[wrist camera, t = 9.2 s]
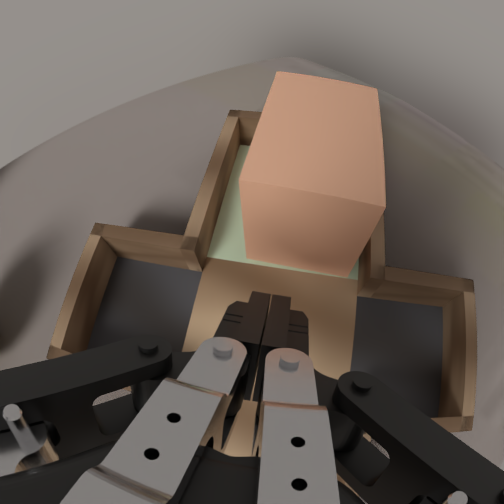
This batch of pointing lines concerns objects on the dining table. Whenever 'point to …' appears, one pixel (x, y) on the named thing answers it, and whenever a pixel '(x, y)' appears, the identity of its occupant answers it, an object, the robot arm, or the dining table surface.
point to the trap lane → (273, 282)
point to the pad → (231, 226)
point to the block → (314, 175)
